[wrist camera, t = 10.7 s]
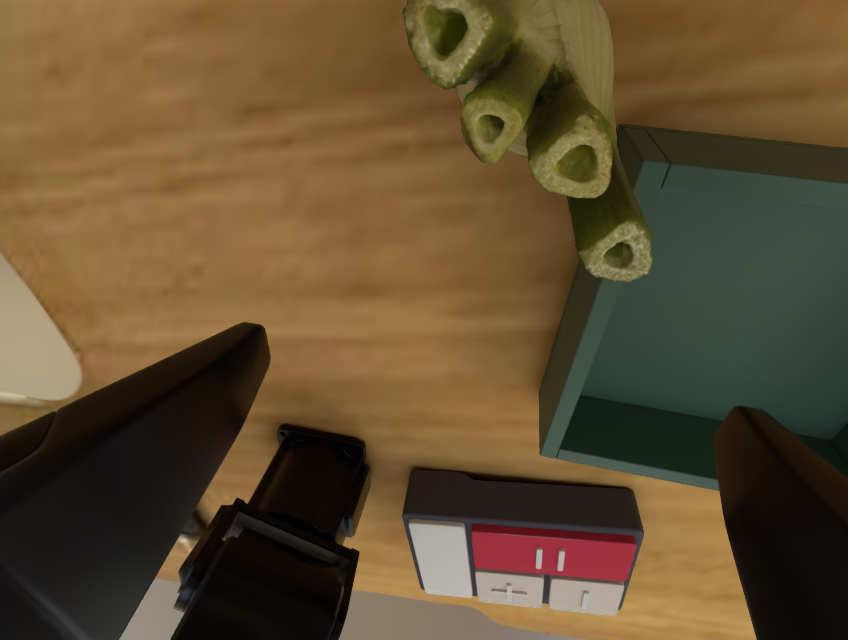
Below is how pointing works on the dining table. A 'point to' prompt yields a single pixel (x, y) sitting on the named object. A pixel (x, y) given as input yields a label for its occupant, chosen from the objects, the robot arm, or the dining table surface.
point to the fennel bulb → (541, 108)
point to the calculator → (522, 541)
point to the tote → (709, 310)
